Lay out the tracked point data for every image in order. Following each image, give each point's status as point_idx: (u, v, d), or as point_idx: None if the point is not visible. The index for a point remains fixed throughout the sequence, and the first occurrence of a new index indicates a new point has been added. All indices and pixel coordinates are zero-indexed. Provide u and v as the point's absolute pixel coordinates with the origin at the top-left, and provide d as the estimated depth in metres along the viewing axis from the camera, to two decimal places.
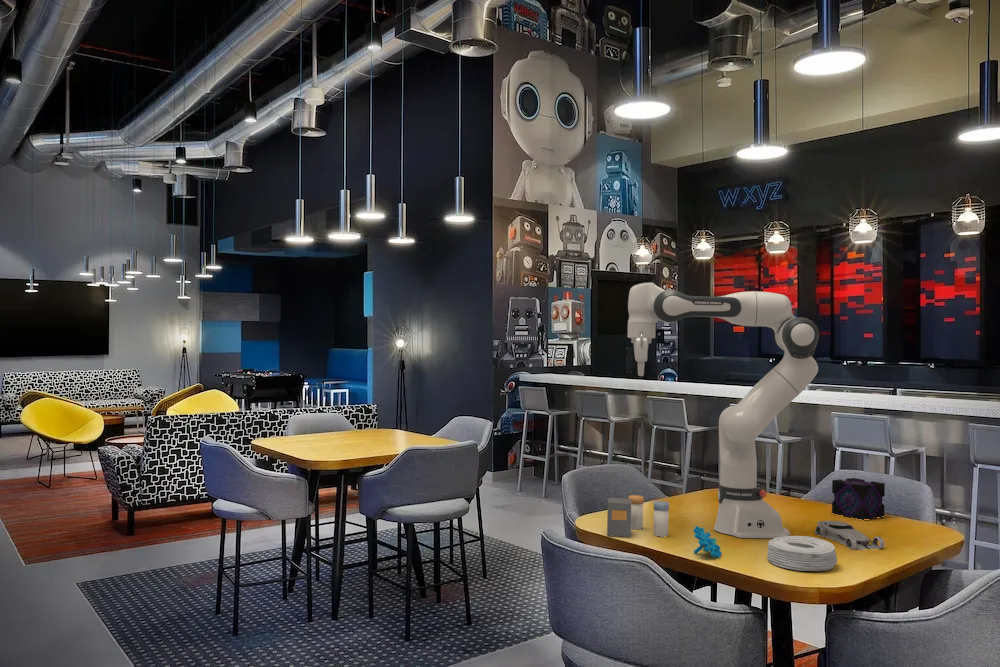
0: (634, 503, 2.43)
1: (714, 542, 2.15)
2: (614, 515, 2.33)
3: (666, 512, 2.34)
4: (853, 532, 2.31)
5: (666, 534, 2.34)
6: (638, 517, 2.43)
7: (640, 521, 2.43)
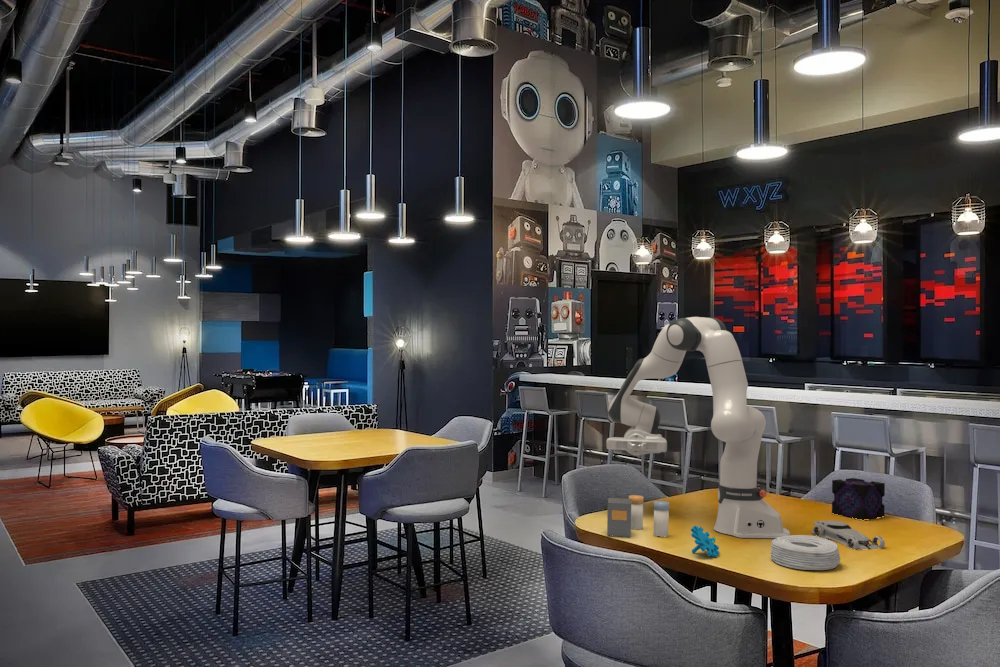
0: (634, 503, 2.43)
1: (712, 542, 2.16)
2: (614, 515, 2.33)
3: (666, 512, 2.34)
4: (852, 532, 2.32)
5: (666, 534, 2.34)
6: (638, 517, 2.43)
7: (640, 521, 2.43)
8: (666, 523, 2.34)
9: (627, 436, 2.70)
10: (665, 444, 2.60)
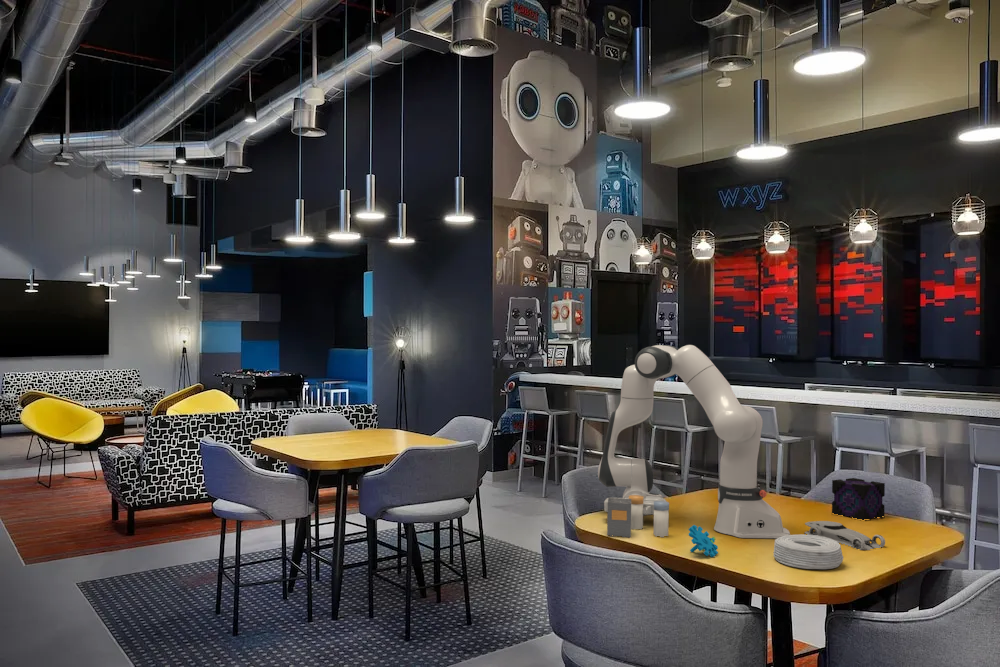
0: (634, 503, 2.43)
1: (711, 541, 2.16)
2: (614, 515, 2.33)
3: (666, 512, 2.34)
4: (852, 532, 2.32)
5: (666, 534, 2.34)
6: (638, 517, 2.43)
7: (640, 521, 2.43)
8: (666, 523, 2.34)
9: (626, 496, 2.57)
10: None
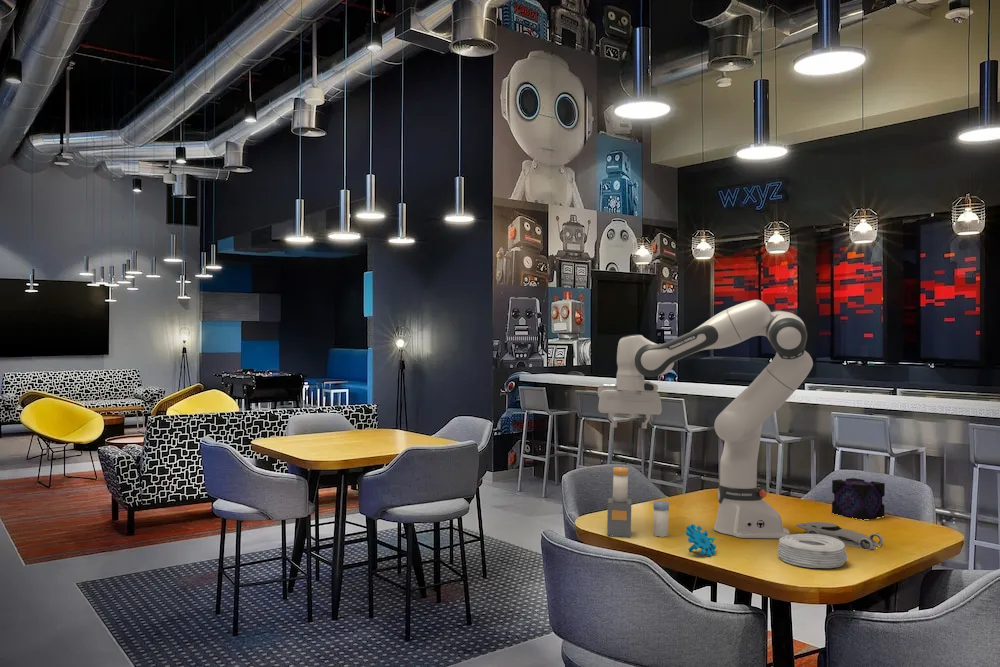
0: (618, 475, 2.35)
1: (710, 541, 2.16)
2: (614, 515, 2.33)
3: (666, 512, 2.34)
4: (851, 532, 2.32)
5: (666, 534, 2.34)
6: (623, 489, 2.35)
7: (624, 493, 2.35)
8: (666, 523, 2.34)
9: (620, 390, 2.48)
10: (660, 413, 2.48)
